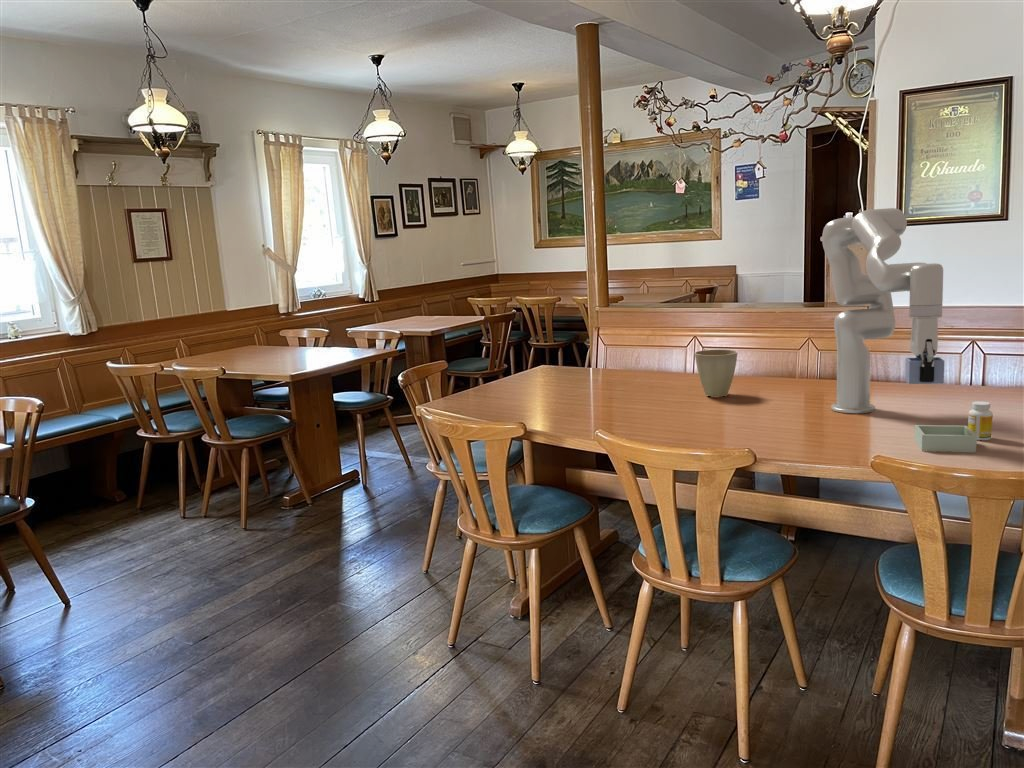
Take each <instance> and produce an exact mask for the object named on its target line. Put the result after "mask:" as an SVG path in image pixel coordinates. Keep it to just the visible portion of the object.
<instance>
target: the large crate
mask: <svg viewBox="0 0 1024 768" xmlns="http://www.w3.org/2000/svg"><path fill="white" fill-rule="evenodd" d="M913 440H915V441H914V442H915V444H916V443H917V444H916V445H917V446H919V447H918V448H919V450H920V449H921V450H922V451H921V450H920V451H921V452H936V451H952V452H951V453H976V452H977V441H978V440H977V436H976V435H975V434H974V433H973V432H972V431H971V430H970V429H969V428H968V425H932V424H929V425H926V424H924V425H922V424H921V425H919V424H915V425H914V436H913ZM923 450H925V451H923ZM926 450H927V451H926Z"/></svg>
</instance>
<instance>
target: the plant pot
mask: <svg viewBox="0 0 1024 768" xmlns="http://www.w3.org/2000/svg"><path fill="white" fill-rule="evenodd" d="M694 358H695V364H696V369H697V372H698V376H699V380H700V383H701V386H702V389H703V391H704V394H705V396H706V395H708V396H724V395H727V396H728V395H729V394H728V393H729V391H730V388H731V386H732V383H733V379H734V375H735V372H736V371H735V370H736V366H737V359H738V351H737V350H733V349H705V350H698V351H694ZM708 396H707V397H708Z"/></svg>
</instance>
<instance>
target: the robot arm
mask: <svg viewBox="0 0 1024 768" xmlns="http://www.w3.org/2000/svg"><path fill="white" fill-rule="evenodd" d="M907 221H908V220H907V217H906V215H905V214H904V212H903V211H902V210H901V209H899V208H896V207H895V208H894V207H890V208H876V209H874V208H873V209H866V210H862V211H860V212H859V213H857V214H856V215H854V216H853V217H851V216H850V217H849V216H848V217H841V218H837V219H833V220H831V221H829V222H827V223H826V224H825V226H824V227H823V230H822V237H821V240H822V247H823V250H824V254H825V256H826V258H827V260H828V263H829V267H830V272H831V273H830V274H831V279H832V285H833V286H832V287H833V292H834V297H835V300H836V303H837V304H838V305H839V306H842V307H858V306H859V307H860V306H861V307H862V306H869V307H870V308H860V309H859V308H857V309H849V310H844V311H840V313H838V314H837V315H836V316H835V318H834V322H833V329H834V330H833V331H834V335H835V340H836V402H833V403H832V404H831V406H830V408H831V410H832V411H834V412H837V413H844V414H868V413H872V412H874V411H875V410H876V406H875V405H874V404H871V403H870V396H871V395H870V394H871V393H870V392H871V389H870V388H871V386H870V385H871V353H870V350H869V348H868V347H867V346H866V345H865V343H864V341H867V340H878V339H879V340H880V339H885V338H888V337H890V336H892V335H893V334H894V333H895V329H896V318H895V316H896V315H895V311H894V304H893V297H892V293H898V292H909V315H908V316H909V317H908V318H909V319H912V322H911V332H910V333H911V334H910V347H909V348H910V349H909V351H910V353H912V354H913V355H914V356H915V358H921V367H920V382H934V357H936V355H937V354H938V345H939V343H938V342H939V341H938V339H939V327H938V326H939V325H938V322H939V321H938V320H939V319H938V318H943V300H944V299H943V298H944V297H943V296H944V295H943V293H944V267H943V265H942V264H940V263H936V262H935V263H933V262H932V263H927V262H903V263H893V264H892V263H891V264H888V263H886V262H885V261H888V260H889V259H891V258H892V257H893V256H894V255H896V254H897V253H898V252H899V250H900V249H901V246H902V240H901V237H900V236H902V235H903V234H904V233H905V231H906V230H907V226H908V223H907ZM857 245H858V246H859V245H863V246H864V248H865V249H866V250H867V252H868V253H867V255H866V260H865V270H866V274H863V271H862V267H861V261H860V259H859V257H858V256H857V255H856V253H855V252H854V251H853V250H852V249H851V248H850V247H848V246H857ZM924 358H925V359H924Z"/></svg>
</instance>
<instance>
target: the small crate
mask: <svg viewBox="0 0 1024 768" xmlns="http://www.w3.org/2000/svg"><path fill="white" fill-rule="evenodd" d="M924 359H925V358H924ZM904 362H905V364H904V365H905V369H904V370H905V371H904V372H905V373H904V376H905V377H904V380H905V381H906V382H907V383H908V384H909V385H916V384H917V385H919V384H921V385H922V384H923V385H924V384H927V385H930V384H931V385H933V384H934V385H935V384H937V385H938V384H943V385H944V383H945V359H943V358H941V357H939V356H938V357H937V356H934V382H920V367H921V358H916V357H905V361H904Z"/></svg>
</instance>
